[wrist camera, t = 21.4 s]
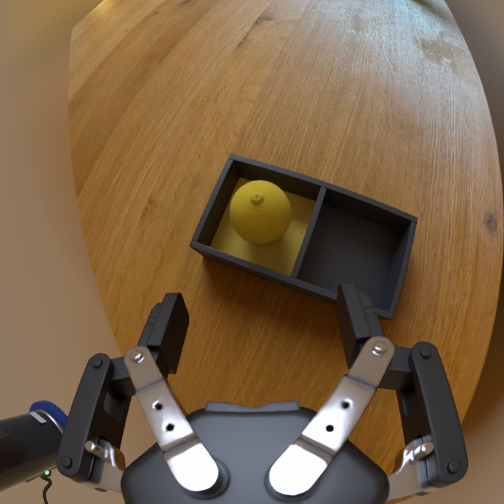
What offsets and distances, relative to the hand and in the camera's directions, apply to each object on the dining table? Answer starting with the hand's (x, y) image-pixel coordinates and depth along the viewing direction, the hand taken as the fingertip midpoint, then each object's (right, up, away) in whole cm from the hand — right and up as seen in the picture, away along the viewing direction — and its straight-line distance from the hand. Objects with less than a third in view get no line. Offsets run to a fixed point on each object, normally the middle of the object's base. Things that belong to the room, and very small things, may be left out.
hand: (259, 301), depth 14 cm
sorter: (+5, +3, +15) cm, 16 cm away
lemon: (+1, +5, +15) cm, 16 cm away
